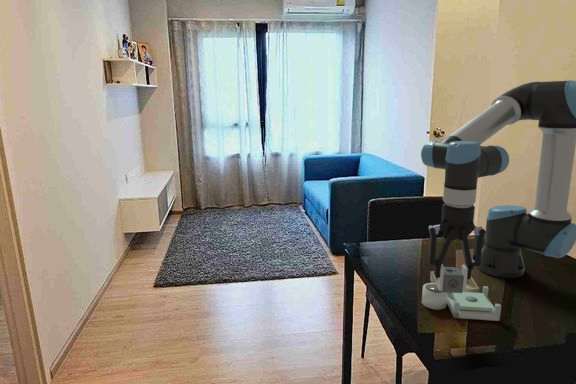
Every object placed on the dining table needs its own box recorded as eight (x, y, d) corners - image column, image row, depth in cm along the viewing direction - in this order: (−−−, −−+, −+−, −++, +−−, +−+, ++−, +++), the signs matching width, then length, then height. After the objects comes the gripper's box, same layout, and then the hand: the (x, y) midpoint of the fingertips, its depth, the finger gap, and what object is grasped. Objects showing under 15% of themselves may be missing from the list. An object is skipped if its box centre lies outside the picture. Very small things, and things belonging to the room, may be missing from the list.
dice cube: (437, 283, 112) (439, 266, 111) (457, 284, 111) (458, 267, 110) (442, 292, 107) (443, 274, 106) (462, 293, 106) (463, 275, 105)
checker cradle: (485, 300, 125) (487, 286, 124) (499, 320, 113) (501, 306, 112) (444, 297, 126) (445, 283, 125) (453, 317, 115) (455, 303, 114)
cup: (443, 298, 126) (444, 283, 124) (448, 310, 119) (450, 294, 118) (419, 297, 127) (421, 282, 125) (423, 308, 120) (425, 292, 119)
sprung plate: (482, 296, 123) (483, 292, 123) (492, 311, 114) (493, 307, 114) (451, 294, 124) (451, 290, 124) (458, 309, 116) (459, 305, 115)
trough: (468, 282, 137) (469, 273, 136) (478, 298, 126) (479, 289, 125) (429, 279, 138) (430, 271, 138) (436, 295, 128) (437, 286, 127)
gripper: (492, 200, 104) (483, 284, 110) (418, 199, 107) (413, 281, 112) (502, 208, 97) (492, 298, 103) (423, 206, 100) (417, 293, 105)
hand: (451, 289), depth 108 cm, fingers closed on dice cube, 5 cm apart
